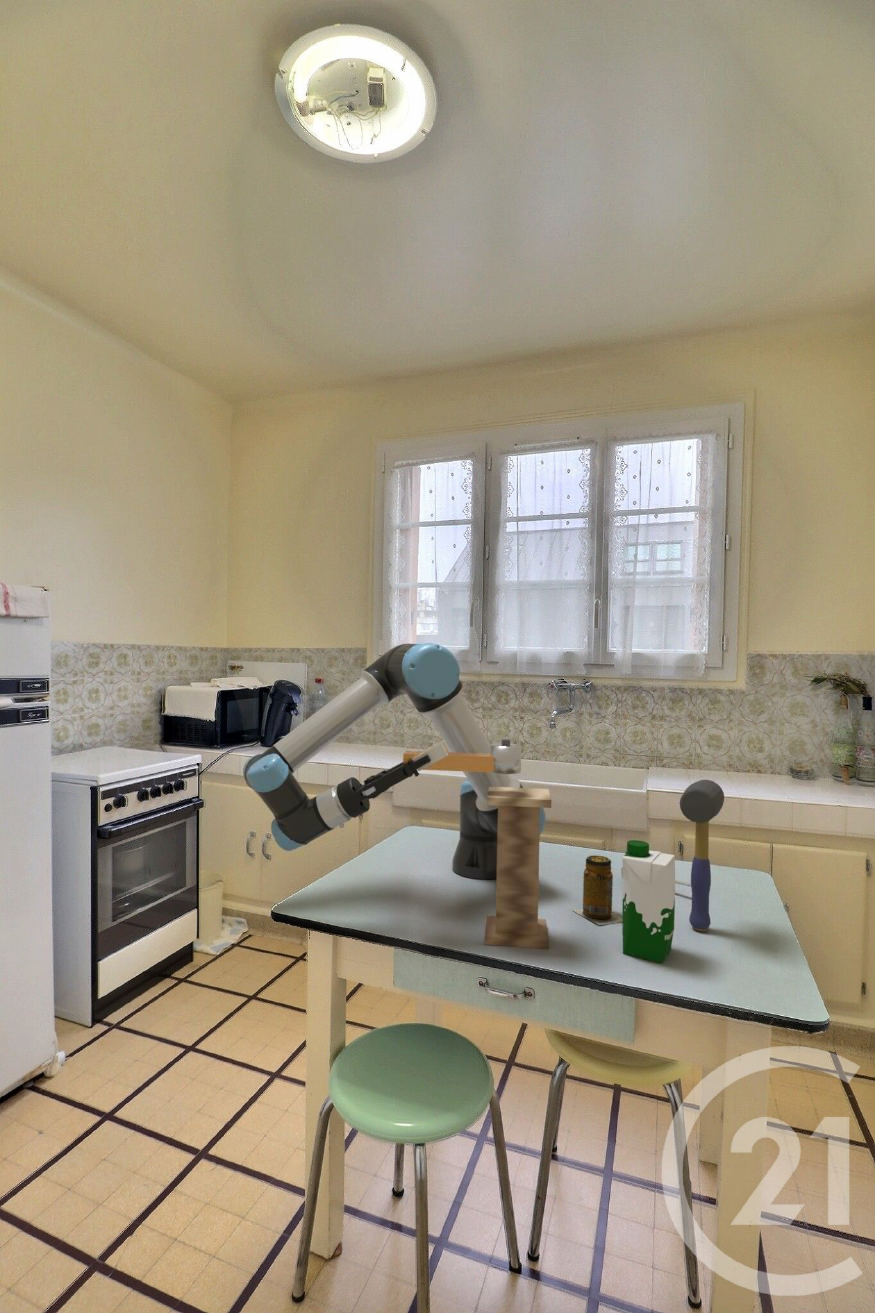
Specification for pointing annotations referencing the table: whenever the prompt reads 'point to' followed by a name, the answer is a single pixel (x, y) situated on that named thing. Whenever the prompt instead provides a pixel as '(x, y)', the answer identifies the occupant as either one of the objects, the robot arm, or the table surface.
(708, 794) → the rubber mallet
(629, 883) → the milk carton
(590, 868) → the condiment
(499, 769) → the wooden handle
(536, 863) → the walnut stand
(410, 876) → the table surface
